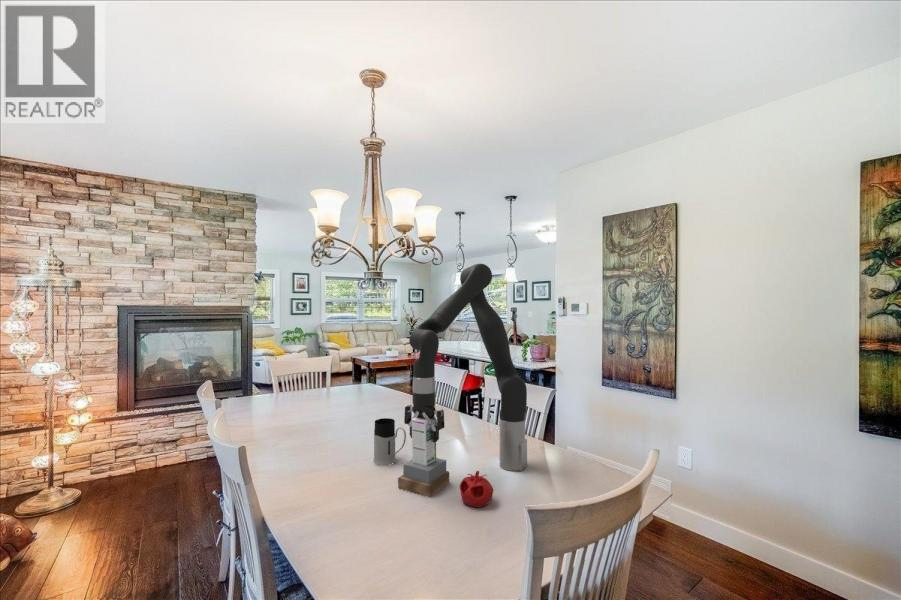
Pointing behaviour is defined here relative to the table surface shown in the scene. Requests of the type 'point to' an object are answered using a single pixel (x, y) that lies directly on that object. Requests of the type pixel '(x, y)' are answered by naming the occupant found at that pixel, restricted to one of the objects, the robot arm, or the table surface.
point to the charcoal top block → (424, 470)
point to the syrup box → (422, 442)
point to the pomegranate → (476, 490)
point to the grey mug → (385, 441)
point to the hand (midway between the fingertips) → (424, 439)
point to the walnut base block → (423, 485)
